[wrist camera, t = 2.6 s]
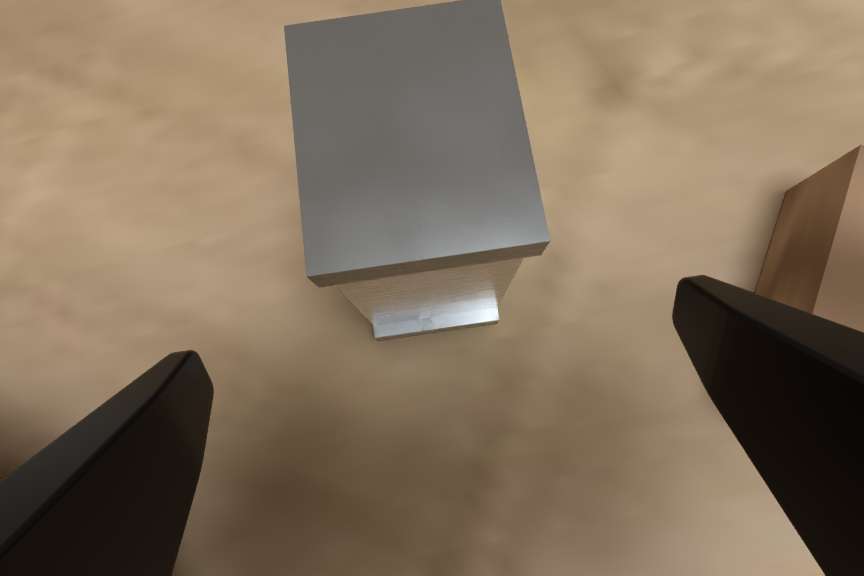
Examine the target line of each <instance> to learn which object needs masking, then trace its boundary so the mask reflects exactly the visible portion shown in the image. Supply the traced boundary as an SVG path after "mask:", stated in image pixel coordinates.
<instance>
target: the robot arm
mask: <svg viewBox="0 0 864 576" xmlns="http://www.w3.org/2000/svg"><path fill="white" fill-rule="evenodd" d="M672 318H673V324H674V327H675V329H676V331H677V333H678V335H679V337H680V339H681V341H682V343H683V345H684V347H685V349H686V351H687V353H688V355H689V357H690V359H691V361H692V363H693V365H694V367H695V369H696V371H697V373H698V375H699V377H700V379H701V381H702V383H703V385H704V387H705V389H706V391H707V393H708V394H709V396H710V398H711V399H712V401H713V403H714V404H715V406H716V407H717V409H718V410H719V412H720V413H721V415H722V417H723V418H724V420H725V421H726V423H727V424H728V426H729V427H730V429H731V430H732V432H733V434H734V435H735V437H736V438H737V440H738V441H739V443H740V444H741V446H742V447H743V449H744V451H745V452H746V454H747V455H748V457H749V458H750V460H751V461H752V463H753V464H754V466H755V468H756V469H757V471H758V472H759V474H760V475H761V477H762V478H763V480H764V481H765V483H766V485H767V486H768V488H769V489H770V491H771V492H772V494H773V495H774V497H775V498H776V500H777V502H778V503H779V505H780V506H781V508H782V509H783V511H784V512H785V514H786V515H787V517H788V519H789V520H790V522H791V523H792V525H793V526H794V528H795V529H796V531H797V532H798V534H799V535H800V537H801V539H802V540H803V542H804V543H805V545H806V546H807V548H808V549H809V551H810V552H811V554H812V556H813V557H814V559H815V560H816V562H817V563H818V565H819V566H820V568H821V569H822V571H823V573H824V574H825V576H864V332H861V331H859V330H856V329H853V328H850V327H848V326H845V325H842V324H839V323H836V322H834V321H831V320H828V319H825V318H822V317H820V316H817V315H814V314H811V313H809V312H806V311H803V310H800V309H797V308H795V307H792V306H789V305H786V304H784V303H781V302H778V301H775V300H772V299H770V298H767V297H764V296H761V295H758V294H756V293H753V292H750V291H747V290H745V289H742V288H739V287H736V286H733V285H731V284H728V283H725V282H722V281H720V280H717V279H714V278H711V277H708V276H705V275H698V276H692V277H685V278H682V279H681V280H680V281H679V283H678V285H677V290H676V296H675V302H674V308H673V314H672ZM213 394H214V390H213V384H212V381H211V379H210V377H209V375H208V373H207V371H206V369H205V367H204V365H203V363H202V360H201V358H200V356H199V355H198V353H197V352H195V351H193V350H188V351H181V352H174V353H171V354H169V355H168V356H166V357H165V358H164V359H162V360H161V361H160V362H158V363H157V364H156V365H154V366H153V367H152V368H150V369H149V370H148V371H146V372H145V373H144V374H142V375H141V376H140V377H138V378H137V379H136V380H134V381H133V382H132V383H130V384H129V385H128V386H126V387H125V388H124V389H122V390H121V391H120V392H118V393H117V394H116V395H114V396H113V397H112V398H110V399H109V400H108V401H106V402H105V403H104V404H102V405H101V406H100V407H98V408H97V409H96V410H94V411H93V412H92V413H90V414H89V415H88V416H86V417H85V418H84V419H82V420H81V421H80V422H78V423H77V424H76V425H74V426H73V427H72V428H70V429H69V430H68V431H66V432H65V433H64V434H62V435H61V436H60V437H58V438H57V439H56V440H54V441H53V442H52V443H50V444H49V445H48V446H46V447H45V448H44V449H42V450H41V451H40V452H38V453H37V454H36V455H34V456H33V457H32V458H30V459H29V460H28V461H26V462H25V463H24V464H22V465H21V466H20V467H18V468H17V469H16V470H14V471H13V472H12V473H10V474H9V475H8V476H6V477H5V478H4V479H2V480H1V481H0V576H172V572H173V569H174V565H175V562H176V558H177V554H178V551H179V547H180V544H181V540H182V537H183V533H184V530H185V526H186V522H187V519H188V515H189V512H190V508H191V505H192V501H193V498H194V494H195V491H196V487H197V483H198V480H199V476H200V472H201V468H202V463H203V457H204V451H205V445H206V439H207V433H208V426H209V420H210V414H211V408H212V401H213Z"/></svg>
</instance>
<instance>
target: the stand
mask: <svg viewBox="0 0 864 576" xmlns="http://www.w3.org/2000/svg"><path fill="white" fill-rule="evenodd" d="M755 293H756V294H758V295H761V296H764V297H767V298H770V299H772V300H775V301H778V302H781V303H784V304H786V305H789V306H792V307H795V308H797V309H800V310H803V311H806V312H809V313H811V314H814V315H817V316H820V317H822V318H825V319H828V320H831V321H834V322H836V323H839V324H842V325H845V326H848V327H850V328H853V329H856V330H859V331H861V332H864V146H862V145H860V146H858V147H857V148H855V149H853V150H852V151H850V152H849V153H847V154H845V155H844V156H842V157H841V158H839V159H837V160H836V161H834V162H832V163H831V164H829V165H828V166H826V167H824V168H823V169H821V170H820V171H818V172H816V173H815V174H813V175H811V176H810V177H808V178H807V179H805V180H803V181H802V182H800V183H799V184H797V185H795V186H794V187H792V188H790V189H789V190H787V192H786V195H785V198H784V201H783V204H782V208H781V211H780V214H779V217H778V220H777V224H776V227H775V230H774V233H773V236H772V239H771V243H770V246H769V249H768V252H767V255H766V259H765V262H764V265H763V268H762V271H761V275H760V278H759V281H758V284H757V287H756V291H755Z"/></svg>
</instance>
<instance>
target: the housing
mask: <svg viewBox="0 0 864 576" xmlns="http://www.w3.org/2000/svg"><path fill="white" fill-rule="evenodd" d="M284 30H285V41H286V53H287V64H288V75H289V86H290V97H291V108H292V119H293V130H294V141H295V152H296V163H297V174H298V186H299V197H300V208H301V219H302V230H303V241H304V252H305V263H306V274H307V277H308V278H309V279H310V280H311V281H312V282H313V283H314V284H315V285H317V286H318V287H326V286H333V285H335V286H336V287H337V288H338V289H339V290H340V291H341V292H342V293H343V294H344V295H345V296H346V297H347V298H348V299H349V301H350V302H351V303H352V304H353V305H354V306H355V307H356V308H357V309H358V310H359V311H360V312H361V313H362V314H363V315H364V316H365V317H366V318H367V320H368V321H369V322H370V323H371V324H372V325H373V328H374V336H375V339H376V340H378V341H381V340H388V339H395V338H402V337H408V336H415V335H422V334H429V333H436V332H443V331H449V330H456V329H463V328H470V327H477V326H484V325H490V324H497V322H498V321H499V315H498V310H497V307H498V305H499V303H500V301H501V299H502V298H503V296H504V294H505V292H506V290H507V288H508V286H509V285H510V283H511V281H512V279H513V277H514V275H515V274H516V272H517V270H518V268H519V266H520V264H521V262H522V261H523V259H524V258H525V257H532V256H538V255H541V254H542V253H543V251H544V250H545V248H546V247H547V245H548V244H549V242H550V238H549V233H548V228H547V223H546V218H545V214H544V209H543V204H542V199H541V194H540V189H539V185H538V180H537V175H536V170H535V165H534V160H533V155H532V151H531V146H530V141H529V136H528V131H527V126H526V121H525V117H524V112H523V107H522V102H521V97H520V92H519V88H518V83H517V78H516V73H515V68H514V63H513V58H512V54H511V49H510V44H509V39H508V34H507V29H506V24H505V20H504V15H503V10H502V5H501V0H461V1H454V2H447V3H440V4H433V5H426V6H419V7H412V8H405V9H398V10H391V11H385V12H378V13H371V14H364V15H357V16H350V17H343V18H336V19H329V20H322V21H315V22H308V23H301V24H294V25H287V26H284Z"/></svg>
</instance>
